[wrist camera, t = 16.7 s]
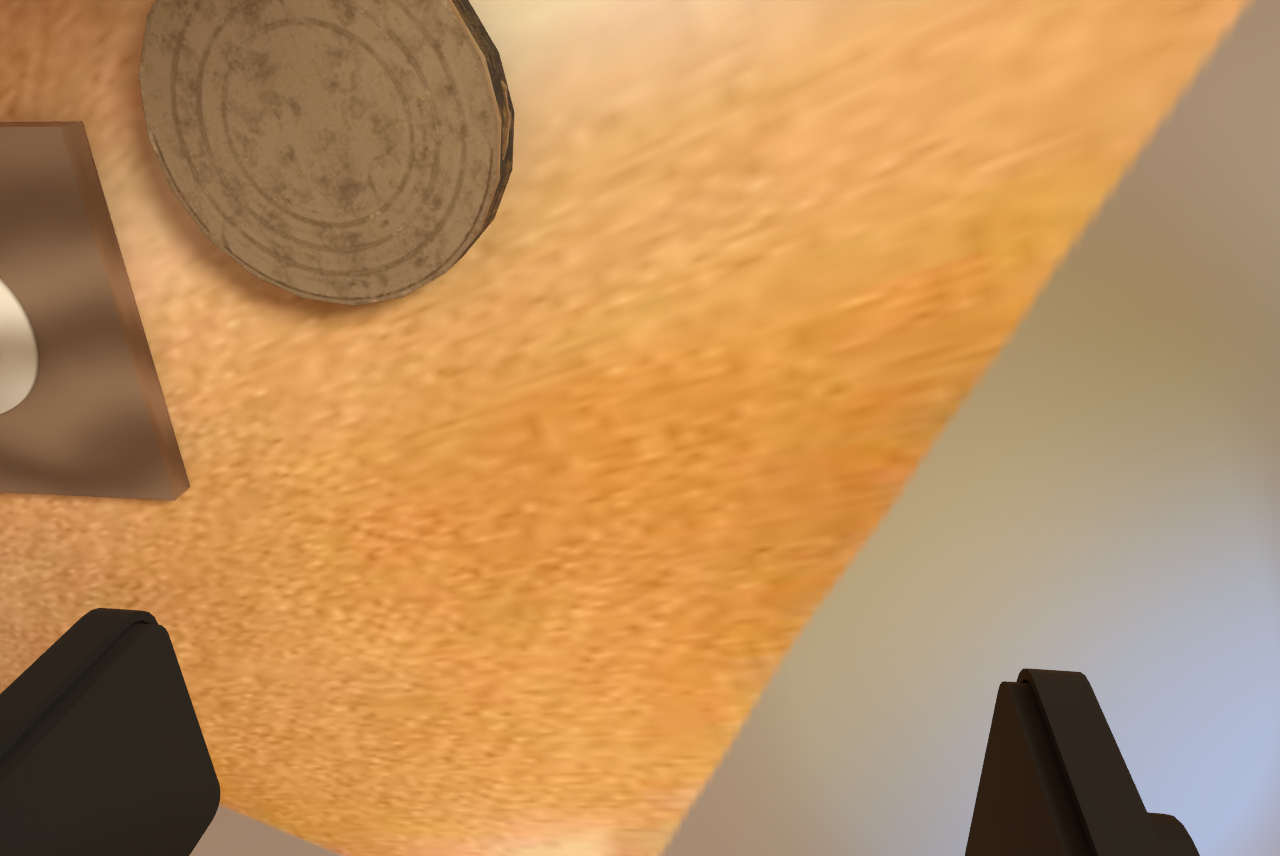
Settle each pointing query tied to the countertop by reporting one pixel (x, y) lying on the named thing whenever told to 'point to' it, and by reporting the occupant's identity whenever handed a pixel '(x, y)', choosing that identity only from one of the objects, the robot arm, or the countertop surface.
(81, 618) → the robot arm
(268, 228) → the brown flat disc
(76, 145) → the coaster board
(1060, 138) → the countertop surface
